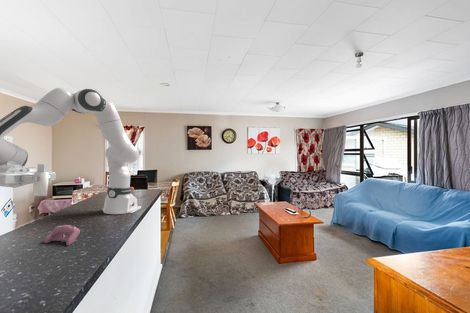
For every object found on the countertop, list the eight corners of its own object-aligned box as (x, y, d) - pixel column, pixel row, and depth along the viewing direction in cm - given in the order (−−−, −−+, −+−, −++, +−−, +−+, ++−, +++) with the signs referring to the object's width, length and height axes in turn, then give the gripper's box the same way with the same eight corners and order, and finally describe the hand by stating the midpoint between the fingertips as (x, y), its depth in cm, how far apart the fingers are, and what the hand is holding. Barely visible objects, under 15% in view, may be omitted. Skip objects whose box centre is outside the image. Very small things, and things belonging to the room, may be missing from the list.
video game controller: (76, 246, 82) (84, 227, 85) (67, 245, 78) (76, 224, 81) (51, 244, 83) (60, 225, 86) (41, 242, 79) (51, 222, 82)
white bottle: (38, 194, 89) (40, 164, 89) (49, 195, 88) (51, 164, 88) (30, 195, 86) (33, 164, 86) (41, 196, 85) (44, 164, 85)
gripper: (-20, 168, 79) (13, 171, 77) (39, 167, 99) (67, 169, 97) (-21, 186, 78) (12, 189, 76) (38, 182, 99) (65, 184, 97)
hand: (43, 178), depth 87 cm, fingers closed on white bottle, 3 cm apart
